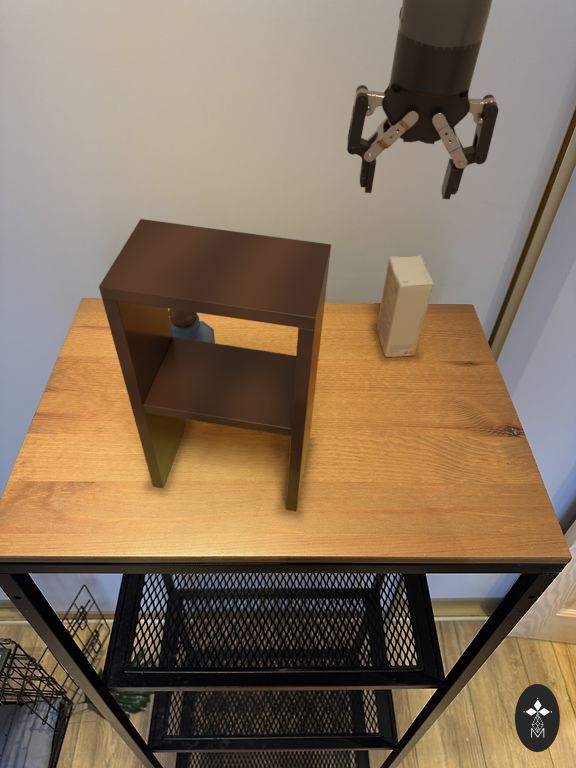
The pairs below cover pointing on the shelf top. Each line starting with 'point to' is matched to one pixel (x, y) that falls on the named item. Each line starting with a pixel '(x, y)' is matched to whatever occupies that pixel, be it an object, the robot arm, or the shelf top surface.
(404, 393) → the shelf top surface
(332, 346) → the shelf top surface
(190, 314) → the perfume bottle
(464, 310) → the shelf top surface
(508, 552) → the shelf top surface
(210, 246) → the walnut shelf
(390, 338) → the cosmetic box
